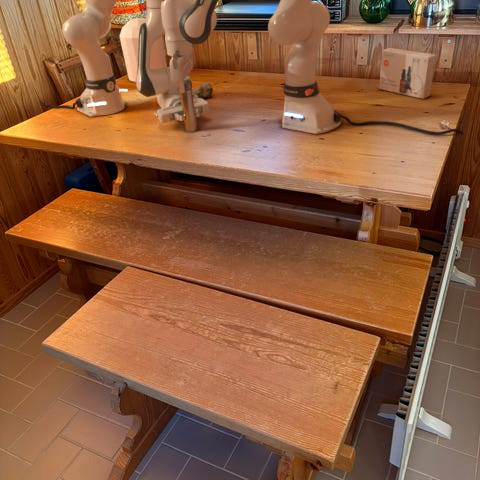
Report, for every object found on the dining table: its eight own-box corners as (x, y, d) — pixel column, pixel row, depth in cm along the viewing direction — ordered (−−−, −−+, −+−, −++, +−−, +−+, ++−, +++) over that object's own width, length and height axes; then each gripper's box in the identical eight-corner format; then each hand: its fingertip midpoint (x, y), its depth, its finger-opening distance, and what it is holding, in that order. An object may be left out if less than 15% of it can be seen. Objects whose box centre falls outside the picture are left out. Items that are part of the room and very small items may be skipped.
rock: (187, 97, 210) (190, 100, 202) (185, 83, 208) (188, 85, 199) (210, 94, 212) (214, 97, 204) (208, 80, 210) (212, 82, 201)
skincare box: (377, 89, 194) (381, 50, 185) (385, 86, 197) (389, 47, 188) (423, 99, 180) (429, 56, 171) (430, 95, 183) (437, 53, 174)
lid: (190, 90, 164) (189, 84, 162) (176, 90, 165) (175, 84, 163) (193, 85, 168) (192, 79, 167) (180, 86, 169) (179, 80, 167)
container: (160, 81, 233) (149, 21, 217) (121, 82, 238) (108, 23, 222) (174, 69, 249) (165, 13, 233) (138, 70, 254) (126, 15, 238)
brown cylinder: (186, 132, 173) (178, 86, 163) (185, 128, 177) (178, 82, 167) (198, 130, 173) (191, 84, 164) (196, 126, 177) (190, 81, 167)
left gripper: (151, 105, 177) (162, 115, 166) (200, 93, 183) (214, 102, 173) (154, 121, 180) (165, 131, 170) (202, 109, 187) (216, 118, 176)
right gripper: (181, 54, 149) (187, 97, 157) (194, 40, 166) (199, 79, 174) (162, 56, 150) (170, 98, 158) (177, 41, 167) (183, 80, 175)
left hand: (190, 117), depth 171 cm, fingers closed on brown cylinder, 4 cm apart
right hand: (185, 88), depth 166 cm, fingers open, 7 cm apart
